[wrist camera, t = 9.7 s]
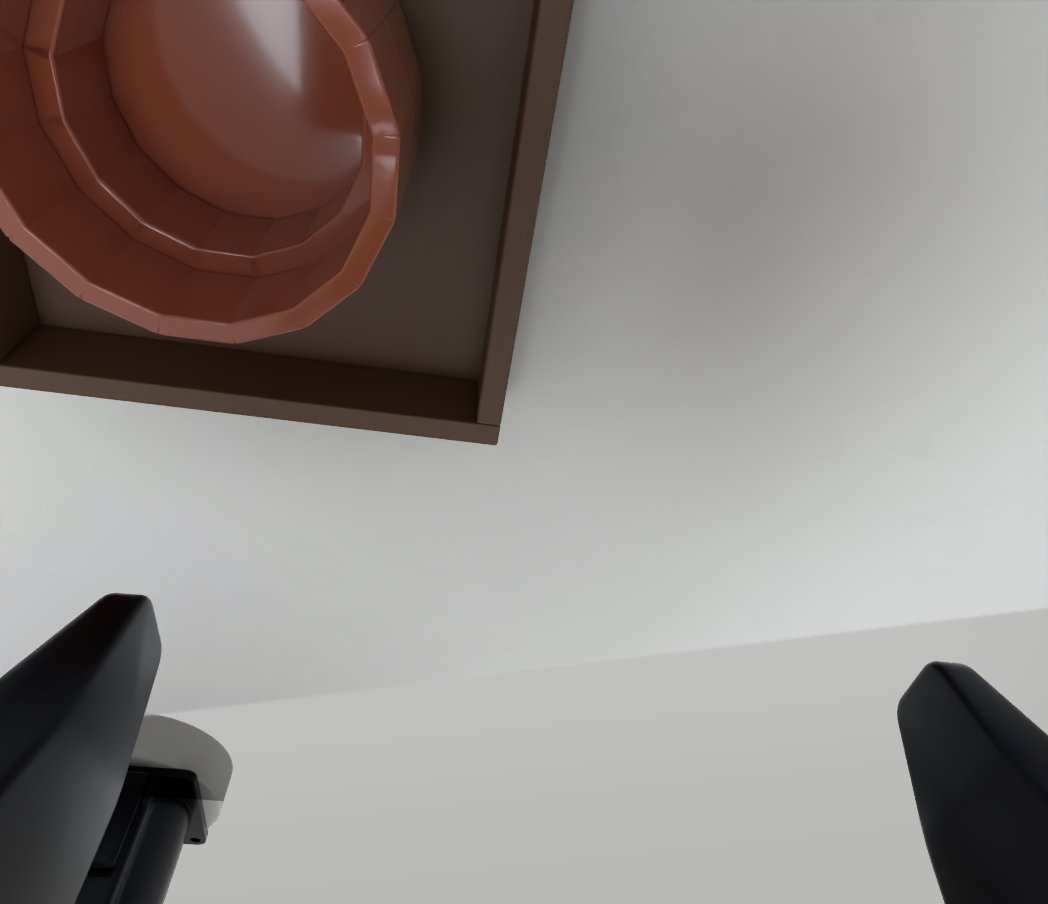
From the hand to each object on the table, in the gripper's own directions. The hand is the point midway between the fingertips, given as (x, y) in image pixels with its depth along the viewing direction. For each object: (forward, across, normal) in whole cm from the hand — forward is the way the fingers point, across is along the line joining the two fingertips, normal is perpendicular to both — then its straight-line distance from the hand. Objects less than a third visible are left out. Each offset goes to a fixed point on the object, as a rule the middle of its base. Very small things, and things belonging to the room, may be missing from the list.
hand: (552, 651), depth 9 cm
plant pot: (+12, +6, -3) cm, 13 cm away
